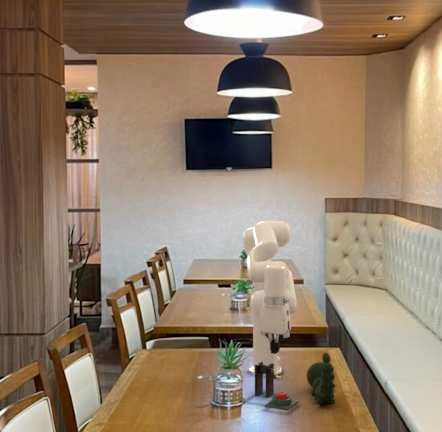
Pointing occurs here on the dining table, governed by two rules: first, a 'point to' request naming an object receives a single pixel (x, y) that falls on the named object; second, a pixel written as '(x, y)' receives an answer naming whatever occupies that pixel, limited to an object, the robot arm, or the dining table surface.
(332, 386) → the green bumpy upright shape
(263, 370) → the press lever
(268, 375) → the lever bracket
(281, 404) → the console
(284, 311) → the robot arm
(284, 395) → the button
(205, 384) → the dining table surface
